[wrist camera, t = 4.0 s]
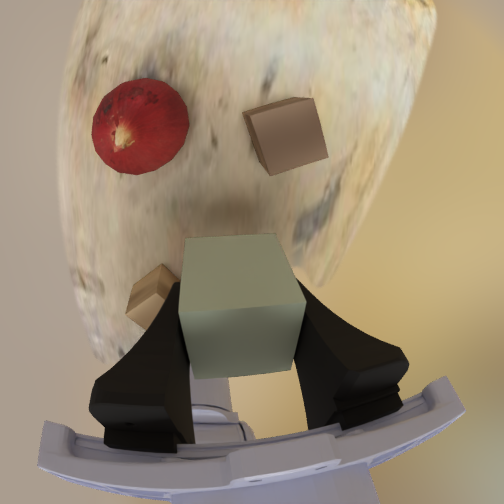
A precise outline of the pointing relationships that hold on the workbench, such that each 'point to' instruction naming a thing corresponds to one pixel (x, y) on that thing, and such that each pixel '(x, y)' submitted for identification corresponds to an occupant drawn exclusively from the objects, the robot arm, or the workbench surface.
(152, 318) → the oak block
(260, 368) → the sage block
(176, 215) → the workbench surface
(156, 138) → the onion
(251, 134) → the walnut block
